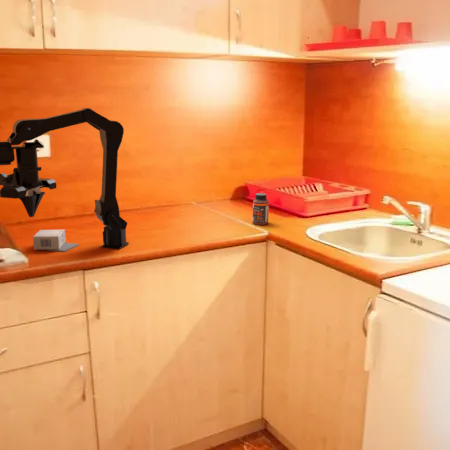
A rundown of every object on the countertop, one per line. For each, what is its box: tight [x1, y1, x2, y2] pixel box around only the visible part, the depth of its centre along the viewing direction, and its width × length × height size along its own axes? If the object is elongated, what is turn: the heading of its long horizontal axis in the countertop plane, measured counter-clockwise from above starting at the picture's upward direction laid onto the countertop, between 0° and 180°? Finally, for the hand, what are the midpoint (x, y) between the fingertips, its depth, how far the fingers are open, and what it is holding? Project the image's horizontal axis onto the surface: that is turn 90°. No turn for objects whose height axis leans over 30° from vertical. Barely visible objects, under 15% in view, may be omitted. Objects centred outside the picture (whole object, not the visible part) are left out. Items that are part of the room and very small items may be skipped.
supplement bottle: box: [252, 192, 270, 226], centre depth 202 cm, size 6×6×11 cm
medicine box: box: [32, 229, 66, 251], centre depth 171 cm, size 8×4×9 cm
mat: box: [49, 242, 80, 253], centre depth 172 cm, size 9×8×1 cm
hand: (31, 216), depth 159 cm, fingers closed
